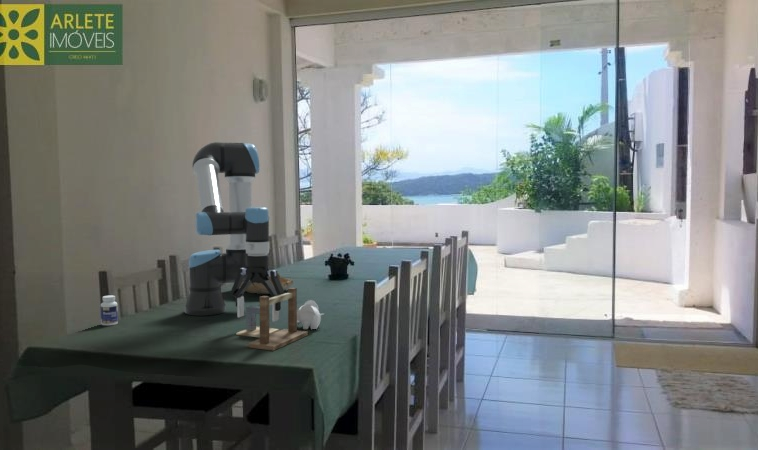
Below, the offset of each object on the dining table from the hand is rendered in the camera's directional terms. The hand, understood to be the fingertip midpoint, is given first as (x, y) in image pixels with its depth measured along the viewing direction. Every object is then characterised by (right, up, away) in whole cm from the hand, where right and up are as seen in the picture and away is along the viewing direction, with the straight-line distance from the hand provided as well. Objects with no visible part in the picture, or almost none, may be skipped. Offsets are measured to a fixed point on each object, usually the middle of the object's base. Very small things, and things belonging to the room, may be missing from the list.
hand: (257, 318), depth 199 cm
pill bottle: (-54, -4, +11) cm, 55 cm away
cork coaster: (0, -5, 0) cm, 5 cm away
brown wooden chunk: (-14, 0, +75) cm, 76 cm away
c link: (0, -4, 0) cm, 4 cm away
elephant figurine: (+15, -5, +8) cm, 18 cm away
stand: (+9, -5, -10) cm, 14 cm away
